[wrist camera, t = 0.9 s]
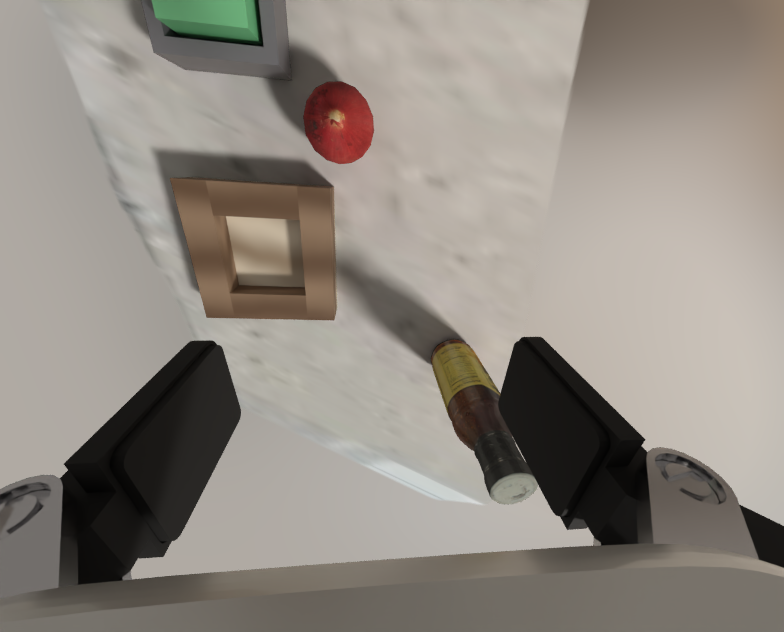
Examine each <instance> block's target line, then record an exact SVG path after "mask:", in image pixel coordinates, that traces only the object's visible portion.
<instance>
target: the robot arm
mask: <svg viewBox="0 0 784 632" xmlns="http://www.w3.org/2000/svg"><path fill="white" fill-rule="evenodd" d="M498 407H499V411H500V414H501V415H502V417H503V419H504V421H505V423H506V425H507V427H508V429H509V431H510V432H511V434H512V436H513V438H514V440H515V442H516V444H517V445H518V447H519V449H520V451H521V453H522V455H523V457H524V459H525V461H526V462H527V464H528V466H529V468H530V470H531V472H532V474H533V476H534V478H535V479H536V481H537V483H538V485H539V487H540V489H541V491H542V493H543V494H544V496H545V498H546V500H547V502H548V504H549V506H550V508H551V509H552V511H553V512H554V513H555V515H557V516H560V517H561V519H562V521H563V523H564V525H565V526H566V528H567V530H569V529H584V528H587V527H588V528H589V530H590V531H591V533H592V534H593V536H594V542H593V543H594V544H593V546H580V547H562V548H548V549H532V550H518V551H503V552H488V553H473V554H458V555H443V556H430V557H416V558H401V559H387V560H373V561H360V562H346V563H333V564H319V565H305V566H292V567H279V568H268V569H267V568H266V569H254V570H240V571H227V572H214V573H202V574H189V575H176V576H165V577H155V578H144V579H134V580H132V578H131V569H132V567H133V566H134V564H135V562H136V560H137V559H138V558H152V557H163V556H164V555H165V553H166V551H167V549H168V547H169V545H170V543H171V541H174V540H176V539H177V538H178V537H179V536H180V535H181V533H182V531H183V529H184V527H185V525H186V523H187V522H188V520H189V518H190V516H191V514H192V512H193V510H194V508H195V506H196V504H197V502H198V500H199V498H200V496H201V494H202V492H203V490H204V488H205V486H206V484H207V482H208V480H209V479H210V477H211V475H212V473H213V471H214V469H215V467H216V465H217V463H218V461H219V459H220V457H221V455H222V453H223V451H224V449H225V447H226V445H227V444H228V441H229V439H230V437H231V435H232V434H233V432H234V430H235V428H236V426H237V424H238V422H239V420H240V416H241V409H240V405H239V402H238V399H237V395H236V392H235V389H234V385H233V382H232V379H231V375H230V372H229V369H228V365H227V362H226V359H225V355H224V352H223V349H222V347H221V346H220V345H217V344H216V343H215V342H214V341H190V342H189V343H188V344H187V345H186V346H185V347H184V348H183V349H182V350H180V352H178V353H177V354H176V355H175V356H174V357H173V358H172V359H171V360H170V361H169V362H168V363H167V364H166V365H165V366H164V367H163V368H162V369H161V370H160V371H159V372H158V373H157V374H156V375H155V376H154V377H153V378H152V379H151V380H150V381H149V382H148V383H147V384H146V385H145V386H143V387H142V388H141V389H140V390H139V391H138V392H137V393H136V394H135V395H134V396H133V397H132V398H131V399H130V400H129V401H128V402H127V403H126V404H125V405H124V406H123V407H122V408H121V409H120V410H119V411H118V412H117V413H116V414H115V415H114V416H113V417H112V418H110V420H108V421H107V422H106V423H105V424H104V425H103V426H102V427H101V428H100V429H99V430H98V431H97V432H96V433H95V434H94V435H93V436H92V437H91V438H90V439H89V440H88V441H87V442H86V443H85V444H84V445H83V446H82V447H81V448H80V449H79V450H78V451H77V452H75V453H74V454H73V455H72V456H71V457H70V458H69V459H68V460H67V461H66V462H65V463H64V465H65V466H66V468H67V469H68V471H67V472H66V473H65V474H64V475H63V476H62V477H61V478H57V477H56V476H54V475H40V476H35V477H30V478H26V479H24V480H21V481H18V482H15V483H13V484H10V485H8V486H6V487H4V488H2V489H0V632H784V526H782V525H780V524H778V523H776V522H774V521H772V520H770V519H768V518H766V517H764V516H762V515H760V514H758V513H756V512H754V511H752V510H749V509H747V508H745V507H743V506H741V505H739V503H738V500H737V497H736V496H735V494H734V492H733V490H732V488H731V487H730V486H729V485H728V484H727V483H726V482H725V481H724V479H723V478H722V477H720V476H719V475H718V474H717V473H716V472H714V471H713V470H712V469H711V468H709V467H708V466H706V465H705V464H703V463H702V462H700V461H698V460H697V459H695V458H693V457H691V456H688V455H687V454H685V453H682V452H679V451H676V450H672V449H668V448H661V447H660V448H653V449H651V450H650V451H648V452H647V451H646V450H645V449H644V448H643V447H642V446H641V445H642V444H643V442H644V441H645V439H644V438H643V437H642V436H641V435H640V434H639V433H638V432H637V431H636V430H635V429H634V428H633V427H632V426H631V425H630V424H629V423H628V422H627V421H626V420H625V419H624V418H623V417H622V416H621V415H620V414H619V413H618V412H617V411H616V410H615V409H614V408H613V407H612V406H611V405H610V404H609V403H608V402H607V401H606V400H605V399H604V398H603V397H602V396H601V395H599V393H598V392H597V391H596V390H595V389H593V387H592V386H591V385H590V384H588V382H587V381H586V380H584V379H583V378H582V377H581V376H580V375H579V374H578V373H577V372H576V371H575V370H574V369H573V368H572V367H571V366H570V365H569V364H568V363H567V362H566V361H565V360H564V359H563V358H562V357H561V356H560V355H559V354H558V353H557V352H556V351H555V350H554V349H553V348H552V347H551V346H550V345H549V344H548V343H547V342H546V341H545V340H544V339H543V338H541V337H522V338H521V339H520V340H519V341H517V342H516V343H515V344H514V347H513V351H512V355H511V358H510V362H509V365H508V369H507V372H506V376H505V380H504V383H503V387H502V390H501V394H500V398H499V401H498Z"/></svg>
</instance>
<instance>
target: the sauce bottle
mask: <svg viewBox="0 0 784 632" xmlns="http://www.w3.org/2000/svg"><path fill="white" fill-rule="evenodd" d="M431 362H432V365H433V366H432V367H433V371H434V374H435V377H436V380H437V383H438V386H439V389H440V392H441V395H442V398H443V401H444V404H445V407H446V410H447V413H448V415H449V418H450V419H451V421H452V424H453V427H454V430H455V433H456V434H457V436H458V437H459V439H460V440H461V441H462V442H463V443H464V444H465V445H467V446H468V448H470V449H471V450H473V451H474V452H475V456H476V458H477V459H478V461H479V463H480V466H481V469H482V471H483V474H484V480H485V484H486V487H487V490H488V492H489V495H490V497H491V498H492V499H493V500H494V501H496V502H497V503H500V504H515V503H518V502H522V501H523V500H525V499H527V498H528V497H529V496H530V495H532V494H533V493H534V492H535V491H536V489H537V486H538V483H537V481H536V479H535V478H534V476H533V474H532V472H531V470H530V468H529V466H528V464H527V463H526V462H525V461H524V459H523V457H522V456H521V454H520V452H519V450H518V449H517V447H516V444H515V441H514V439H513V438H512V434H511V432H510V431H509V429H508V427H507V425H506V423H505V421H504V419H503V417H502V415H501V414H500V411H499V407H498V401H499V398H500V392H499V391H498V389H497V388H496V386H495V384H494V383H493V381H492V379H491V378H490V376H489V374H488V373H487V371H486V370H485V368H484V366H483V365H482V363H481V362H480V360H479V358H478V357H477V355H476V354H475V352H474V351H473V349H472V348H471V347H470V346H469V345H468V344H466V343H464V342H462V341H459V340H449V341H446V342H443V343H441V344H439V345H438V346H437V347H436V349H435V350H434V352H433V354H432V358H431Z"/></svg>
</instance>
